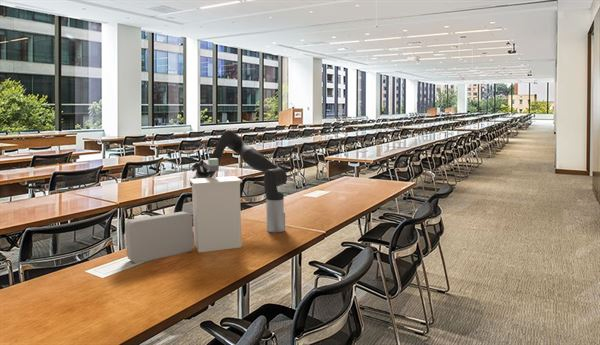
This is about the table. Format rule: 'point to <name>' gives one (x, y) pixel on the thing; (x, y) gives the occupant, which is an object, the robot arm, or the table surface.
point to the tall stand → (216, 213)
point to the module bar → (211, 164)
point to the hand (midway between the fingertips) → (207, 160)
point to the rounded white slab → (158, 236)
